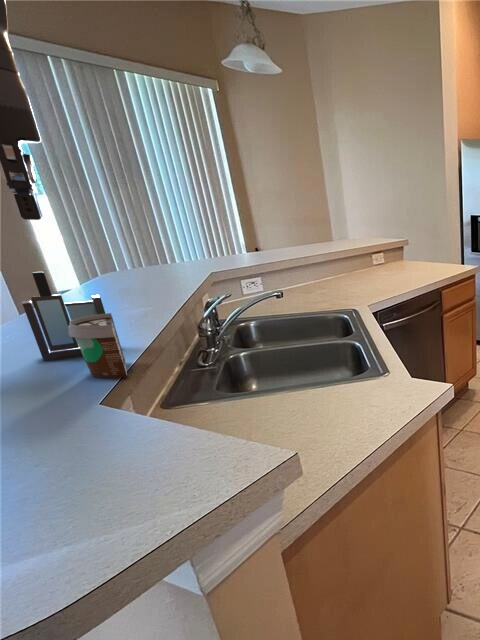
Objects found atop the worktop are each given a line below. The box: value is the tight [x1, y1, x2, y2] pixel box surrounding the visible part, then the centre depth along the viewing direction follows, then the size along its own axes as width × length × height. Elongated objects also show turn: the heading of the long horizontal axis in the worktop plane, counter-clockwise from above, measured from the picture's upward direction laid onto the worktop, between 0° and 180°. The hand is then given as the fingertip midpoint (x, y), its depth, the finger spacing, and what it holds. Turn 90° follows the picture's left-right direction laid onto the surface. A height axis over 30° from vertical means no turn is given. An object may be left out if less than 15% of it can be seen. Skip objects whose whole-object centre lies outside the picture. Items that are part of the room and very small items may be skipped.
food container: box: [68, 313, 128, 380], centre depth 81 cm, size 12×6×10 cm, turn 40°
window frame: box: [21, 294, 106, 362], centre depth 90 cm, size 11×3×12 cm, turn 136°
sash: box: [30, 271, 79, 351], centre depth 87 cm, size 4×1×15 cm, turn 136°
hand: (33, 218), depth 73 cm, fingers open, 8 cm apart
